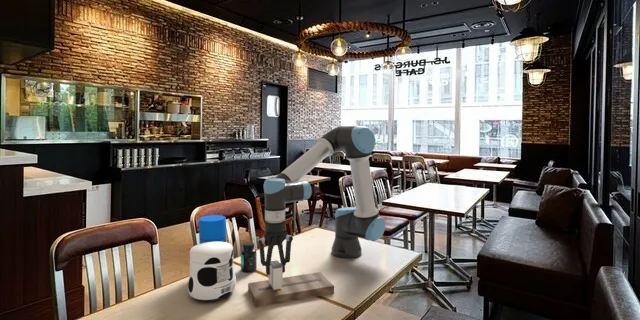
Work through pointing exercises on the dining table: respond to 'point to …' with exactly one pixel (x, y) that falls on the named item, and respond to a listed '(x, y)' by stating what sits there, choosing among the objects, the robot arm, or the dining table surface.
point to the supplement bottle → (248, 258)
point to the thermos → (212, 229)
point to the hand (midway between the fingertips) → (275, 281)
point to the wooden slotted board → (290, 289)
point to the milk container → (211, 271)
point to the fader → (276, 275)
